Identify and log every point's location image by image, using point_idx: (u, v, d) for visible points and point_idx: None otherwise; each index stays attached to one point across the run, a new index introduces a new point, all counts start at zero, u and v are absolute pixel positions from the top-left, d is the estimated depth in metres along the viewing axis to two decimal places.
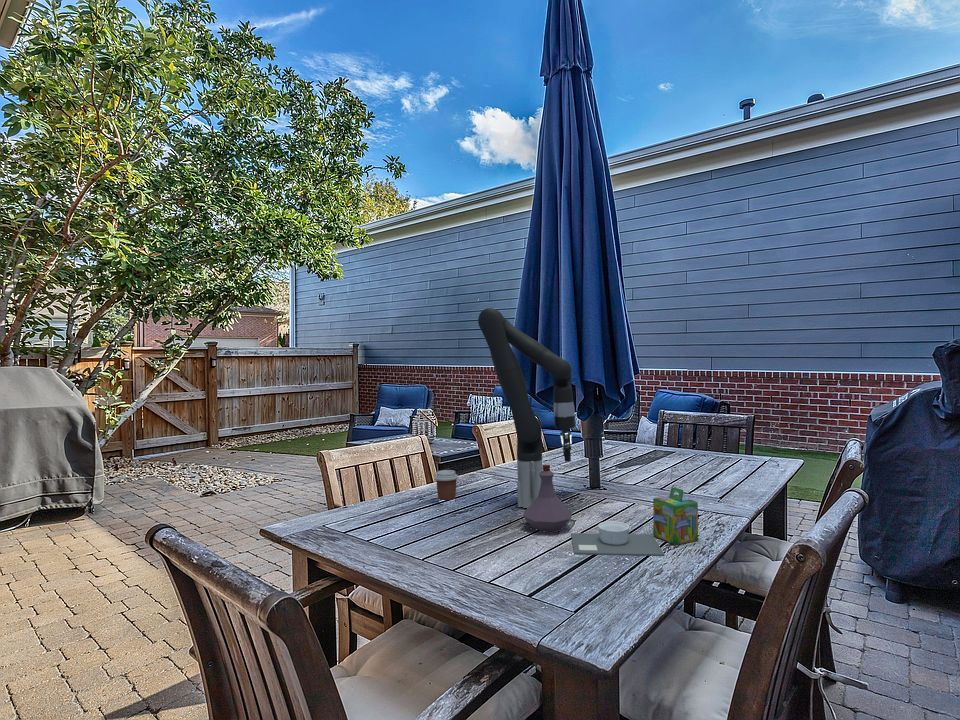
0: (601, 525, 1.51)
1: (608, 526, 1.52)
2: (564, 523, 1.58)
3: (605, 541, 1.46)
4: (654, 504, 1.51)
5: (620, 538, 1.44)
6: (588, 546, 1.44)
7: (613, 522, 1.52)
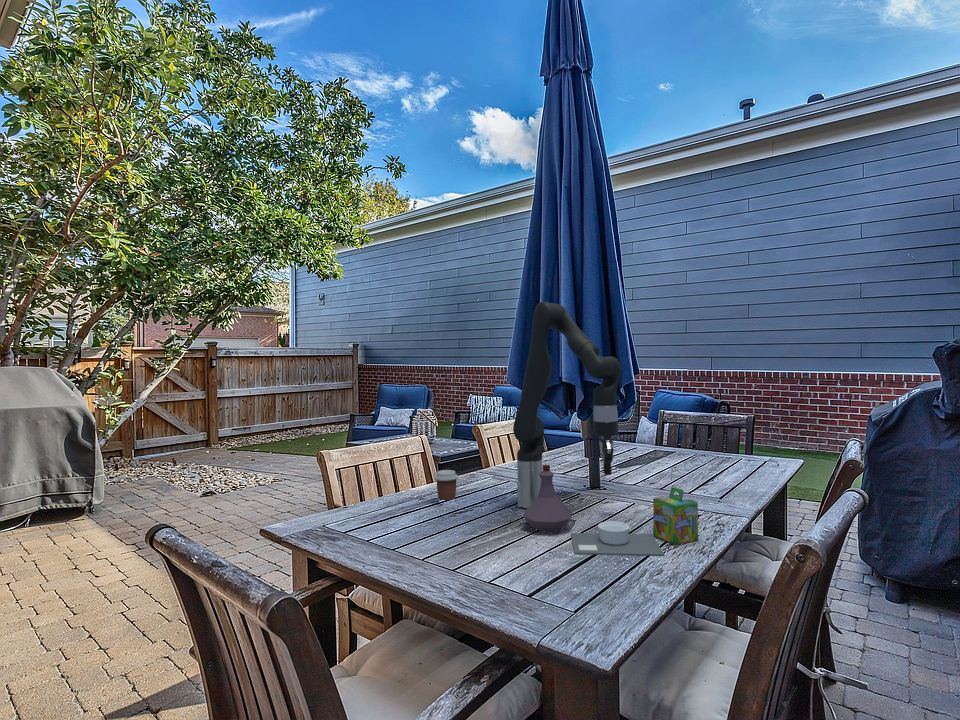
0: (601, 525, 1.51)
1: (608, 526, 1.52)
2: (564, 523, 1.58)
3: (605, 541, 1.46)
4: (654, 504, 1.51)
5: (620, 538, 1.44)
6: (588, 546, 1.44)
7: (613, 522, 1.52)
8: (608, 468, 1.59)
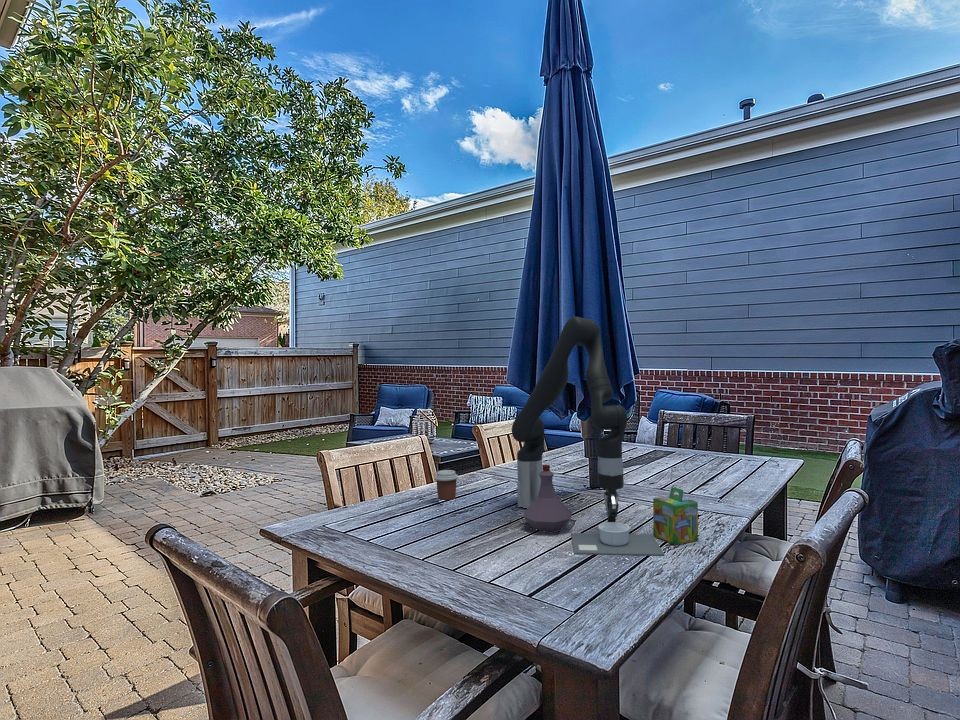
0: (601, 526, 1.50)
1: (608, 527, 1.51)
2: (564, 523, 1.58)
3: (605, 542, 1.45)
4: (654, 504, 1.51)
5: (620, 539, 1.43)
6: (588, 546, 1.44)
7: (613, 523, 1.51)
8: None
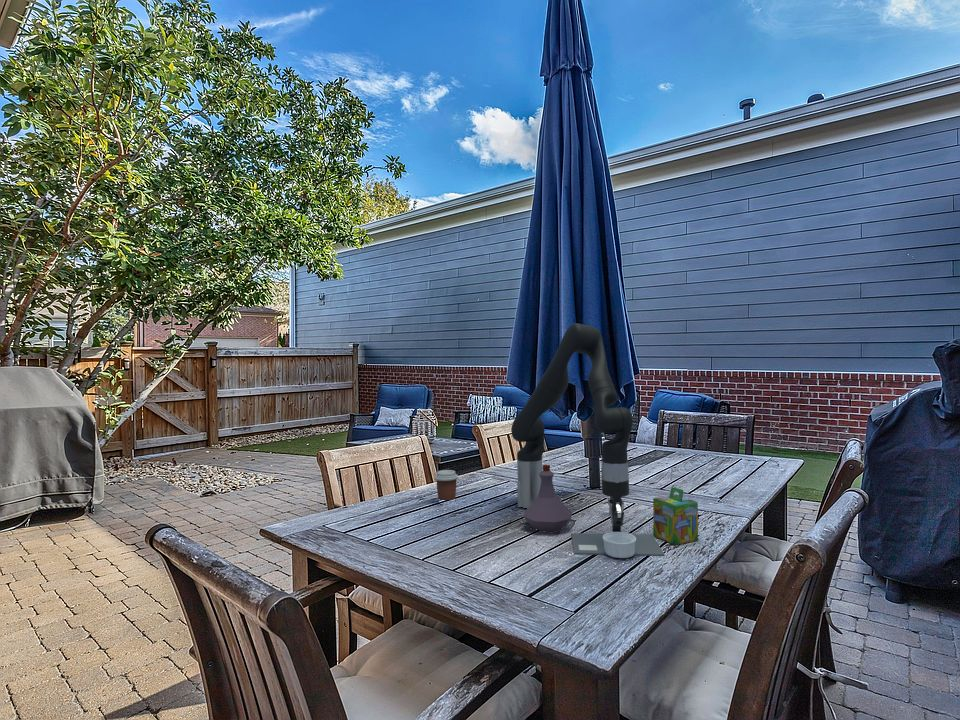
0: (606, 536, 1.41)
1: (613, 537, 1.42)
2: (564, 523, 1.58)
3: (611, 554, 1.36)
4: (654, 504, 1.51)
5: (627, 551, 1.35)
6: (588, 546, 1.44)
7: (618, 533, 1.42)
8: None
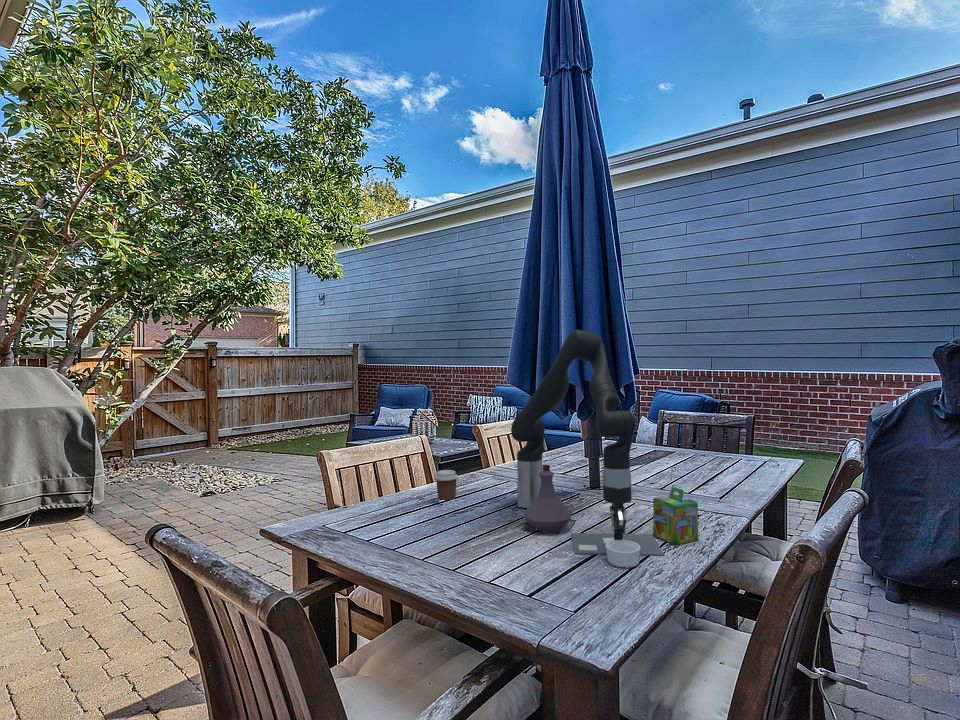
0: (608, 545, 1.35)
1: (616, 546, 1.37)
2: (564, 523, 1.58)
3: (615, 564, 1.30)
4: (654, 504, 1.51)
5: (632, 560, 1.29)
6: (588, 546, 1.44)
7: (620, 541, 1.37)
8: None
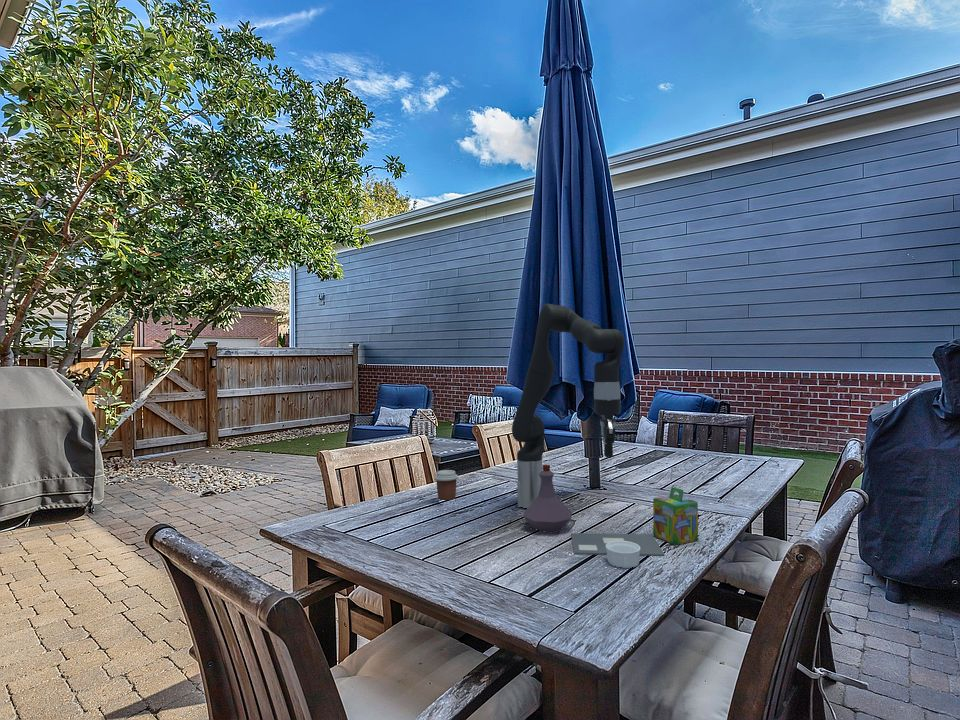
0: (608, 545, 1.35)
1: (616, 546, 1.37)
2: (564, 523, 1.58)
3: (615, 564, 1.30)
4: (654, 504, 1.51)
5: (632, 560, 1.29)
6: (588, 546, 1.44)
7: (620, 542, 1.37)
8: (609, 450, 1.46)
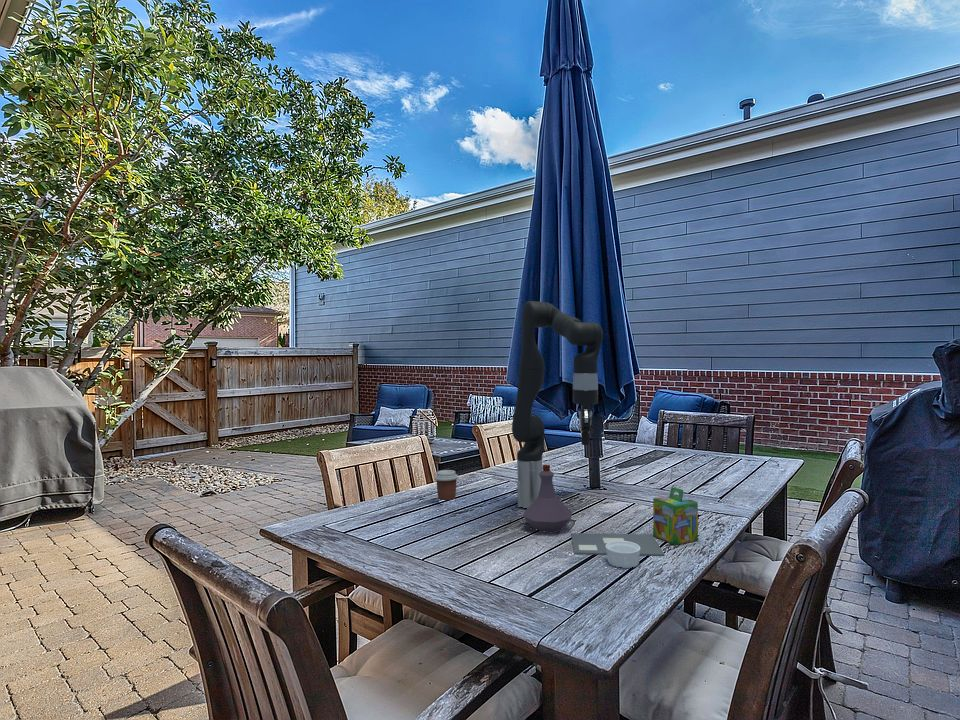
0: (608, 546, 1.35)
1: (615, 546, 1.37)
2: (564, 523, 1.58)
3: (615, 564, 1.30)
4: (654, 504, 1.51)
5: (632, 560, 1.29)
6: (588, 546, 1.44)
7: (620, 542, 1.37)
8: (586, 438, 1.53)
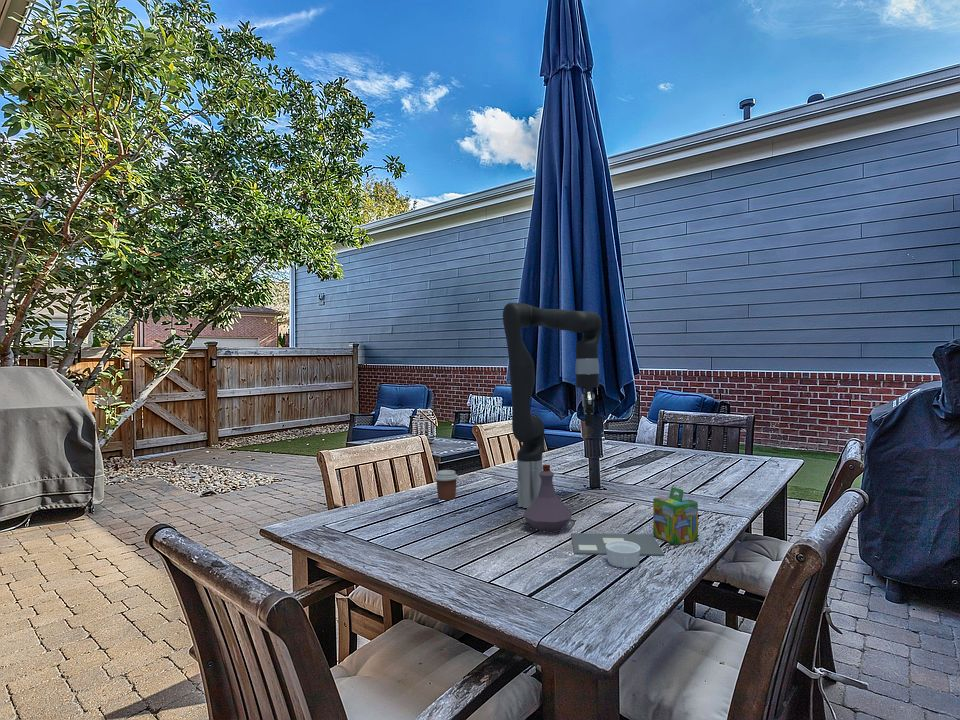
0: (608, 546, 1.35)
1: (615, 546, 1.37)
2: (564, 523, 1.58)
3: (615, 564, 1.30)
4: (654, 504, 1.51)
5: (632, 560, 1.29)
6: (588, 546, 1.44)
7: (620, 542, 1.37)
8: (589, 419, 1.63)
